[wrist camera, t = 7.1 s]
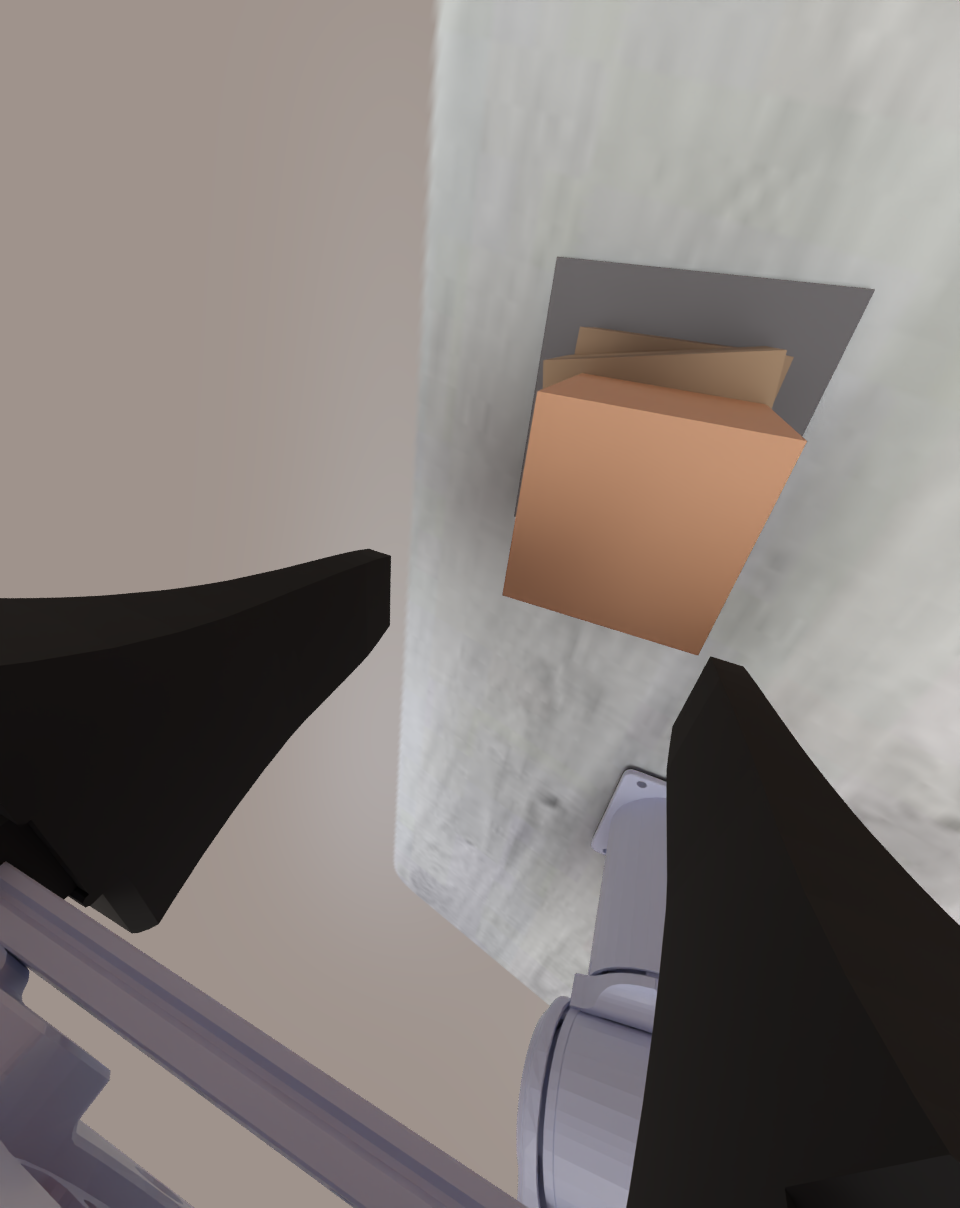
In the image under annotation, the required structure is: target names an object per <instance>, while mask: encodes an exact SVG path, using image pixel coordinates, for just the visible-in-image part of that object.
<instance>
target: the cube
mask: <svg viewBox="0 0 960 1208" xmlns="http://www.w3.org/2000/svg"><path fill="white" fill-rule="evenodd" d="M806 442H807V441H806V440H805V439H804V438H803V437H802V436H801V435H800V434H799V433H797V432H796V431H795V430H794V429H793V428H792V427H791V426H790V425H789V424H787V423H786V422H785V421H784V420H783V419H782V418H781V417H780V416H779V415H777V414H776V413H775V412H774V411H773V410H772V409H771V408H770V407H769V406H767V405H766V404H761V403H755V402H749V401H743V400H737V399H731V398H726V397H720V396H714V395H708V394H702V393H696V392H690V391H685V390H679V389H673V388H667V387H661V386H655V385H649V384H644V383H638V382H632V381H626V380H620V379H614V378H608V377H602V376H597V375H591V374H585V373H581V374H578V375H576V376H573V377H571V378H568V379H566V380H564V381H561V382H559V383H556V384H554V385H551V386H549V387H546V388H544V389H541V390H539V391H537V396H536V402H535V408H534V413H533V419H532V425H531V431H530V437H529V443H528V449H527V454H526V460H525V466H524V472H523V478H522V484H521V489H520V495H519V501H518V507H517V513H516V519H515V525H514V530H513V536H512V542H511V548H510V554H509V560H508V566H507V571H506V577H505V583H504V589H503V596H507V597H510V598H513V599H516V600H520V601H523V602H526V603H529V604H533V605H536V606H539V607H542V608H546V609H549V610H552V611H555V612H559V613H562V614H565V615H568V616H571V617H575V618H578V619H581V620H584V621H588V622H591V623H594V624H597V625H601V626H604V627H607V628H610V629H614V630H617V631H620V632H623V633H627V634H630V635H633V636H636V637H640V638H643V639H646V640H649V641H652V642H656V643H659V644H662V645H665V646H669V647H672V648H675V649H678V650H682V651H685V652H688V653H691V654H695V655H699V653H700V651H701V649H702V647H703V645H704V643H705V641H706V639H707V637H708V635H709V633H710V631H711V629H712V627H713V625H714V623H715V621H716V619H717V617H718V615H719V613H720V611H721V609H722V608H723V606H724V604H725V602H726V600H727V598H728V596H729V594H730V592H731V590H732V588H733V586H734V584H735V582H736V580H737V578H738V576H739V574H740V572H741V570H742V568H743V566H744V564H745V562H746V560H747V558H748V556H749V554H750V552H751V551H752V549H753V547H754V545H755V543H756V541H757V539H758V537H759V535H760V533H761V531H762V529H763V527H764V525H765V523H766V521H767V519H768V517H769V515H770V513H771V511H772V509H773V507H774V505H775V503H776V501H777V499H778V497H779V495H780V493H781V492H782V490H783V488H784V486H785V484H786V482H787V480H788V478H789V476H790V474H791V472H792V470H793V468H794V466H795V464H796V462H797V460H798V458H799V456H800V454H801V452H802V450H803V448H804V446H805V444H806Z"/></svg>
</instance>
